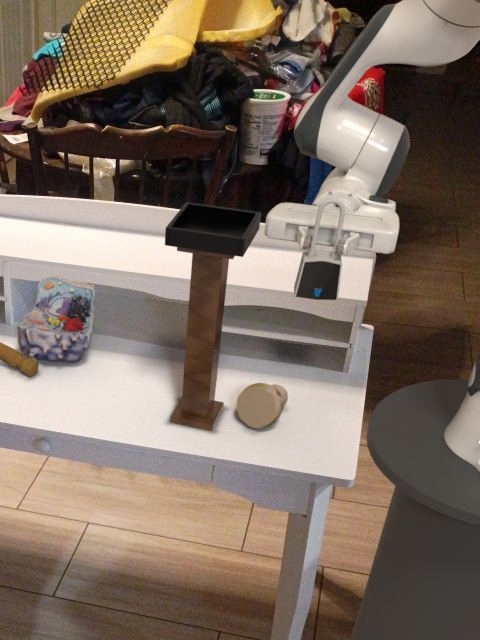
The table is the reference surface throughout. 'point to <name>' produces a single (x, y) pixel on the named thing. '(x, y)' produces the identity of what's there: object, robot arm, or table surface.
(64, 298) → the cell model
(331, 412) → the table surface
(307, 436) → the table surface
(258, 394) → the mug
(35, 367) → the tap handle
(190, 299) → the stand
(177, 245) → the dark tray
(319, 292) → the padlock
